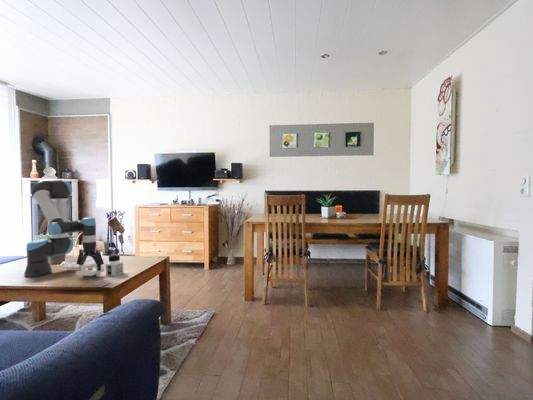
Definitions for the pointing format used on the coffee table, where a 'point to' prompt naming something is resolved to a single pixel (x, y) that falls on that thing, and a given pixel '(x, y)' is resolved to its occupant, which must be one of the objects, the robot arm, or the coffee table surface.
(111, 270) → the container
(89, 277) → the stand
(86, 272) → the lid
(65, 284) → the coffee table surface
